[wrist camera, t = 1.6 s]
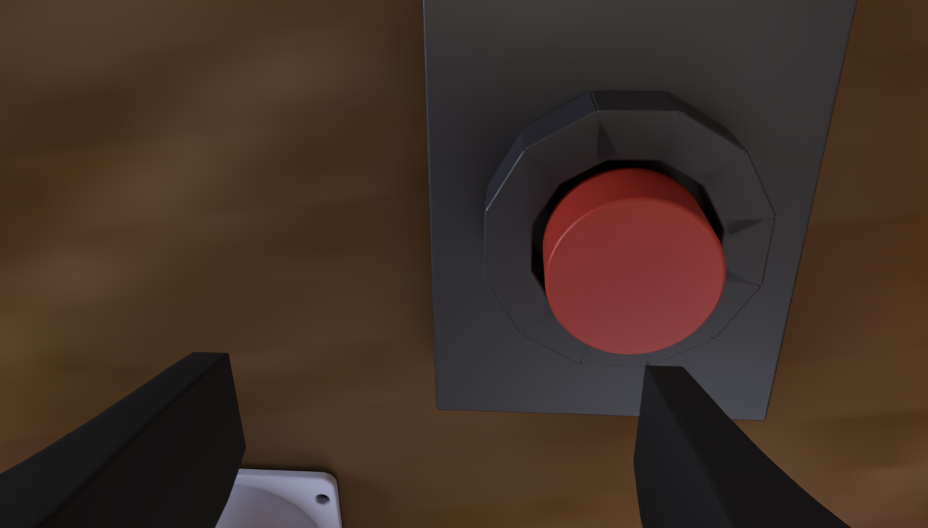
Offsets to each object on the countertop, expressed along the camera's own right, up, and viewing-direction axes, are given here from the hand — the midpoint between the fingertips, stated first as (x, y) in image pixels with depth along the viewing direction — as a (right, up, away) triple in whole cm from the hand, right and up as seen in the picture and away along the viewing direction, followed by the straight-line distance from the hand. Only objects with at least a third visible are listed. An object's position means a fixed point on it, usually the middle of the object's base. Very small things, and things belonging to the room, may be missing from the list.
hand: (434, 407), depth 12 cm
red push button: (+4, +3, +6) cm, 8 cm away
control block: (+5, +5, +9) cm, 11 cm away
